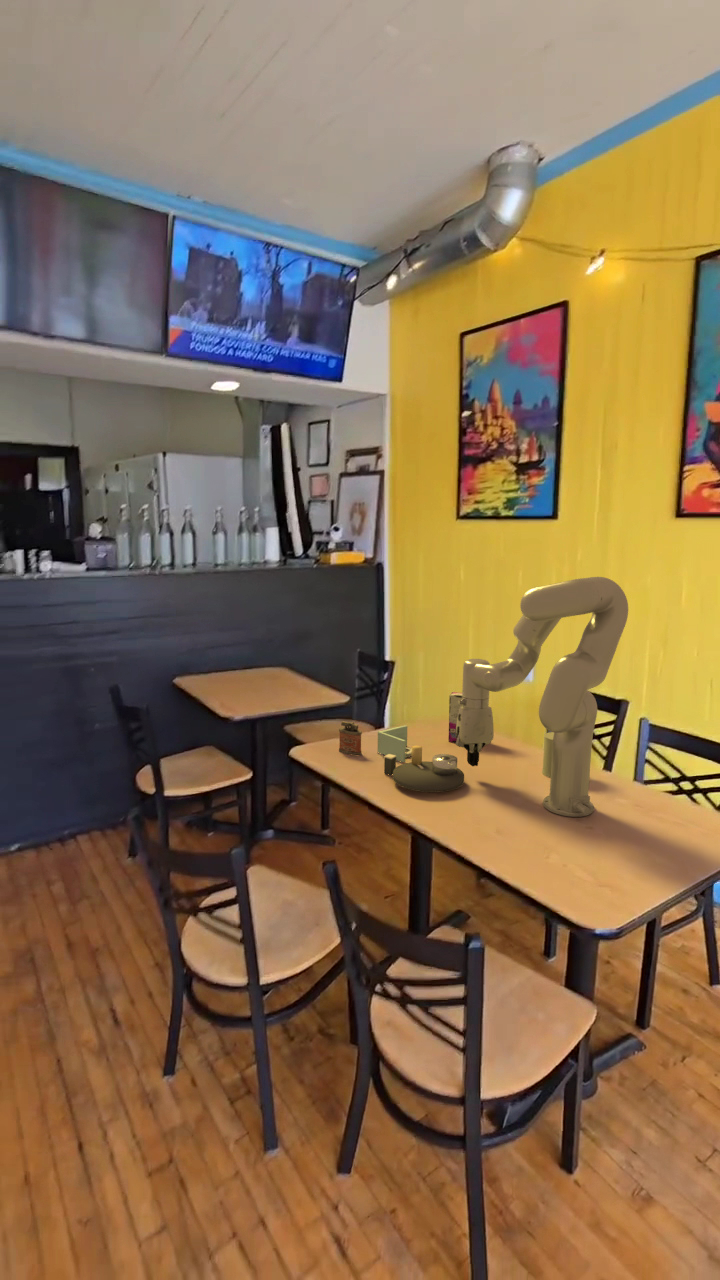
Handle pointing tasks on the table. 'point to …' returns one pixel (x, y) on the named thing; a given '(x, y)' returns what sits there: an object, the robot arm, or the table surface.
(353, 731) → the lighter
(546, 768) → the can
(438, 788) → the turntable
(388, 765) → the post
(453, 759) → the cover
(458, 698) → the candy bar box
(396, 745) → the l-shaped corner panel
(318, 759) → the table surface
